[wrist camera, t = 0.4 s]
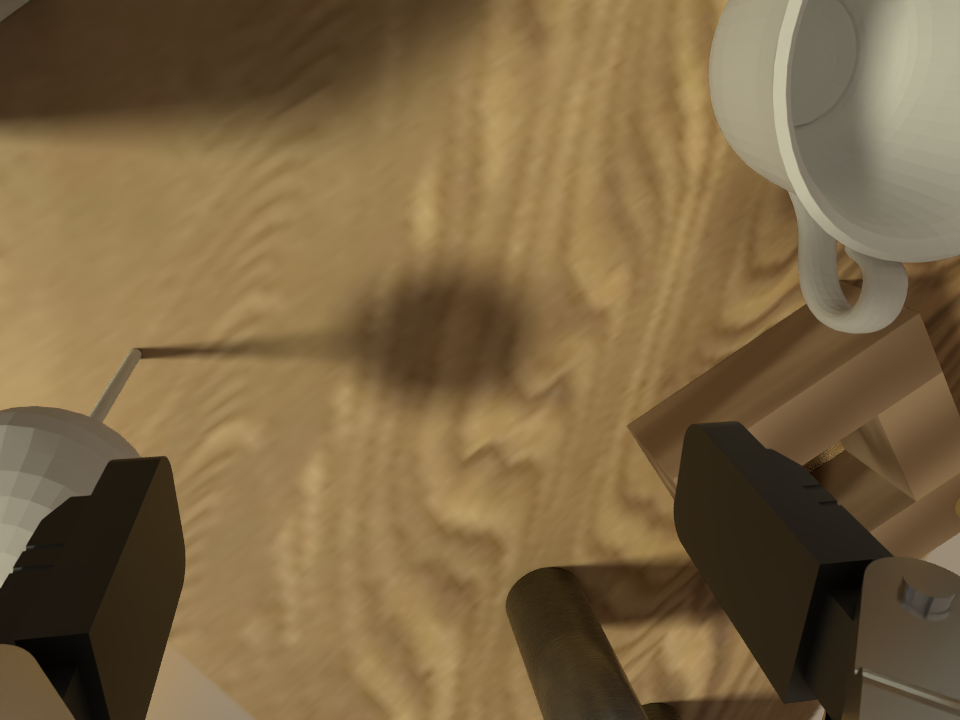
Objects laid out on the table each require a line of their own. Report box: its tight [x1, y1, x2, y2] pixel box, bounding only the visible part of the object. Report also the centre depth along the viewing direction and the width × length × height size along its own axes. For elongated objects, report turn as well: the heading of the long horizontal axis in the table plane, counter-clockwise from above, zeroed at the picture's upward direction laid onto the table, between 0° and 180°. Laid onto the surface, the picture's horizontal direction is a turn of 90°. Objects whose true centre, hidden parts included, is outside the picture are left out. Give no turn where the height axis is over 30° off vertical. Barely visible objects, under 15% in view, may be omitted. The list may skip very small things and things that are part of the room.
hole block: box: [627, 280, 960, 559], centre depth 31 cm, size 12×12×15 cm
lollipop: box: [0, 349, 141, 588], centre depth 23 cm, size 6×6×15 cm
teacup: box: [709, 0, 960, 334], centre depth 27 cm, size 12×15×10 cm
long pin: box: [506, 568, 649, 720], centre depth 32 cm, size 4×4×15 cm
